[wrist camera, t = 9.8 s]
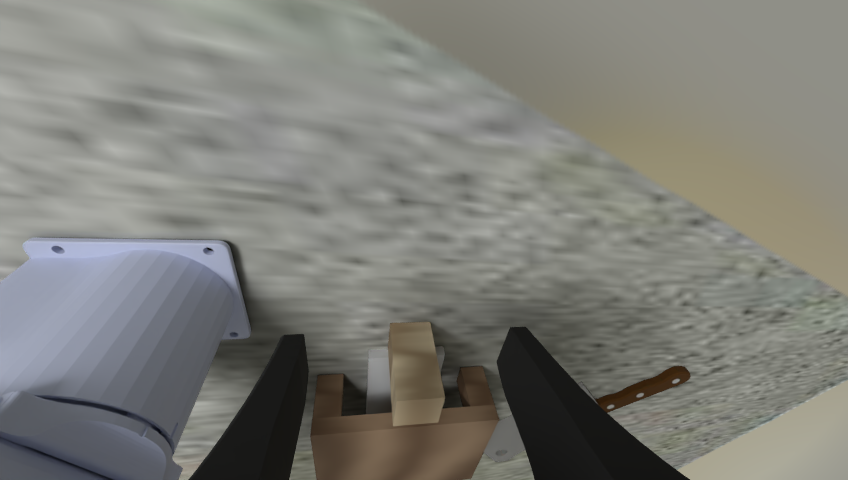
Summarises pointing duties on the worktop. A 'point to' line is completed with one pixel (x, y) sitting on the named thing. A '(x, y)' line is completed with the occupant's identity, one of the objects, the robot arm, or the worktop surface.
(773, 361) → the worktop surface
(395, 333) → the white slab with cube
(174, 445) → the robot arm
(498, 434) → the kitchen knife
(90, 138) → the worktop surface
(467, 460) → the low shelf
